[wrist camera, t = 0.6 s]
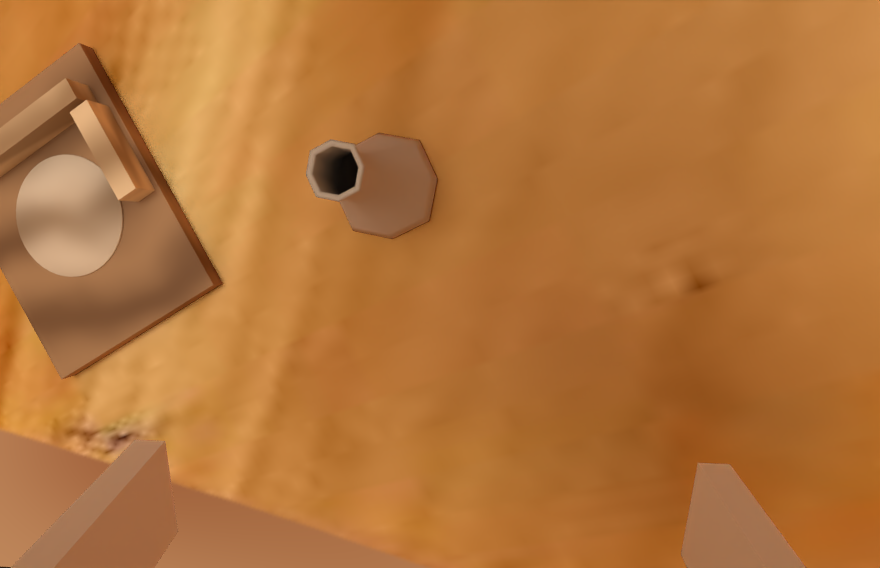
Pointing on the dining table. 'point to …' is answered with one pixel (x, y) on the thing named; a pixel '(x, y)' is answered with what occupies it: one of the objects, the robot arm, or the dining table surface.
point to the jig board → (89, 217)
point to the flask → (375, 182)
